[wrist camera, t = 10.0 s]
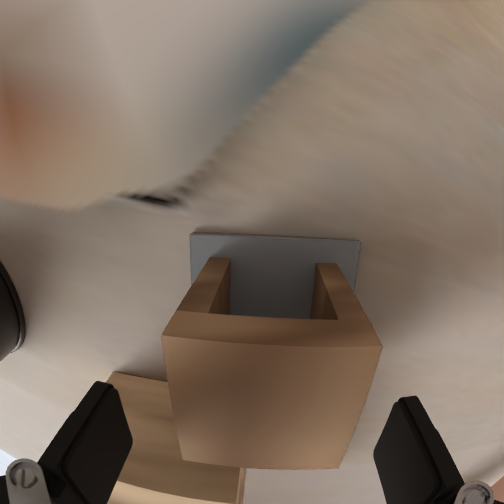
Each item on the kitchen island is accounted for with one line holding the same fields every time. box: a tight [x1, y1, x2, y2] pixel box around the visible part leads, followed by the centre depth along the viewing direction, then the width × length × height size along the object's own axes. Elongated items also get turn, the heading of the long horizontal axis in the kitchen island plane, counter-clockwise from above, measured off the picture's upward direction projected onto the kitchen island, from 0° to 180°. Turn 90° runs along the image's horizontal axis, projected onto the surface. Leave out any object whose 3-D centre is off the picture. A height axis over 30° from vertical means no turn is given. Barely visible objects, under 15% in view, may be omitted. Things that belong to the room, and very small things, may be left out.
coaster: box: [190, 233, 361, 319], centre depth 15 cm, size 8×8×1 cm
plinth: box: [106, 372, 246, 504], centre depth 15 cm, size 9×9×8 cm
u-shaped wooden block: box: [161, 257, 383, 470], centre depth 12 cm, size 6×6×7 cm
